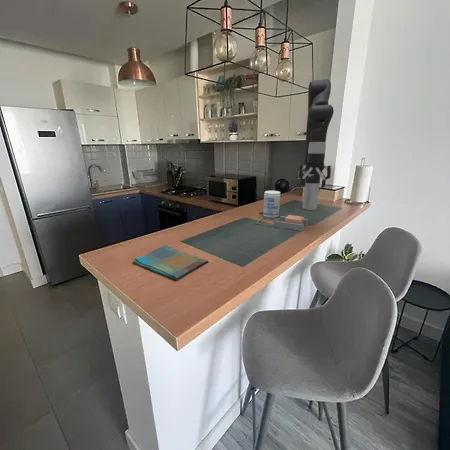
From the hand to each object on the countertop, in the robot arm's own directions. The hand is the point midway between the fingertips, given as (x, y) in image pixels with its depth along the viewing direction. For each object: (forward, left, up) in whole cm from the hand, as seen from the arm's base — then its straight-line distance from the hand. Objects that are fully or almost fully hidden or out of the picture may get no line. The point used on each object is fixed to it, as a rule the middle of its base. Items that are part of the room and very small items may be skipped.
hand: (313, 187), depth 121 cm
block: (-1, -8, -22) cm, 23 cm away
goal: (-1, -22, -21) cm, 31 cm away
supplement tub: (-14, -25, -22) cm, 36 cm away
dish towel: (+62, -38, -22) cm, 76 cm away
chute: (-1, -9, -21) cm, 23 cm away
